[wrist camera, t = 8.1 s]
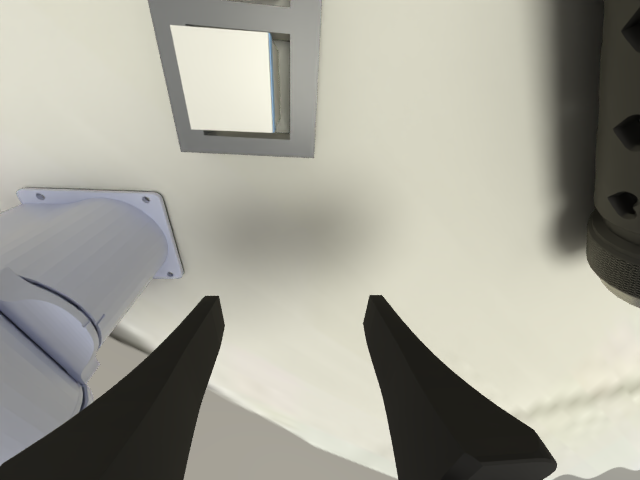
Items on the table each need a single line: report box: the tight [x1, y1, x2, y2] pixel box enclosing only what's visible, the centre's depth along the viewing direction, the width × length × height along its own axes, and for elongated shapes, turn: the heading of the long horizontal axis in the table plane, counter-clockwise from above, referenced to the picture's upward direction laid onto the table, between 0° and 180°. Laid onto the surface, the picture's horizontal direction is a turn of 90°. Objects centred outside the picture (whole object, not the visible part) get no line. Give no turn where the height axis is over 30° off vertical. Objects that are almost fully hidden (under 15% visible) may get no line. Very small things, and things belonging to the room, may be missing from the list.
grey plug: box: [170, 25, 280, 133], centre depth 13 cm, size 4×4×6 cm
